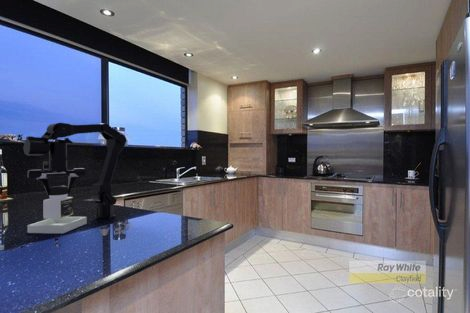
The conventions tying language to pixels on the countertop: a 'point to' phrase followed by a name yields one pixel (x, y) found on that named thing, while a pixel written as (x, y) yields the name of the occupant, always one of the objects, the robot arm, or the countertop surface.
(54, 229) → the grey square tray
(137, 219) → the countertop surface
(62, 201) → the medicine bottle
